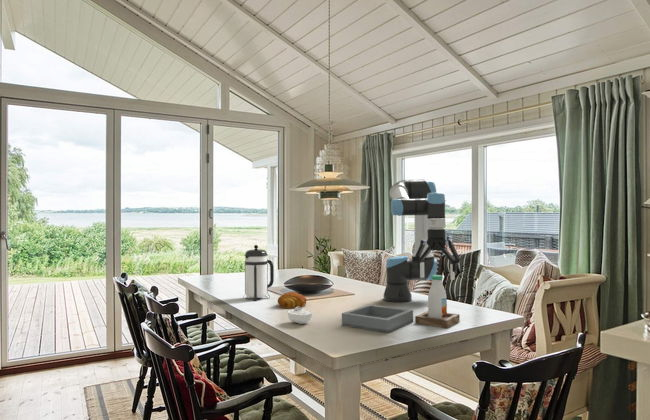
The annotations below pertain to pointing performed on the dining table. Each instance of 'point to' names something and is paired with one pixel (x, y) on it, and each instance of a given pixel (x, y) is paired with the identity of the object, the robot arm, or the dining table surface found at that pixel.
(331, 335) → the dining table surface
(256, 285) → the coffee press
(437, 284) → the milk bottle
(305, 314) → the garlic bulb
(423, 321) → the wooden square tray
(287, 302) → the croissant
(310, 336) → the dining table surface
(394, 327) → the charcoal tray
